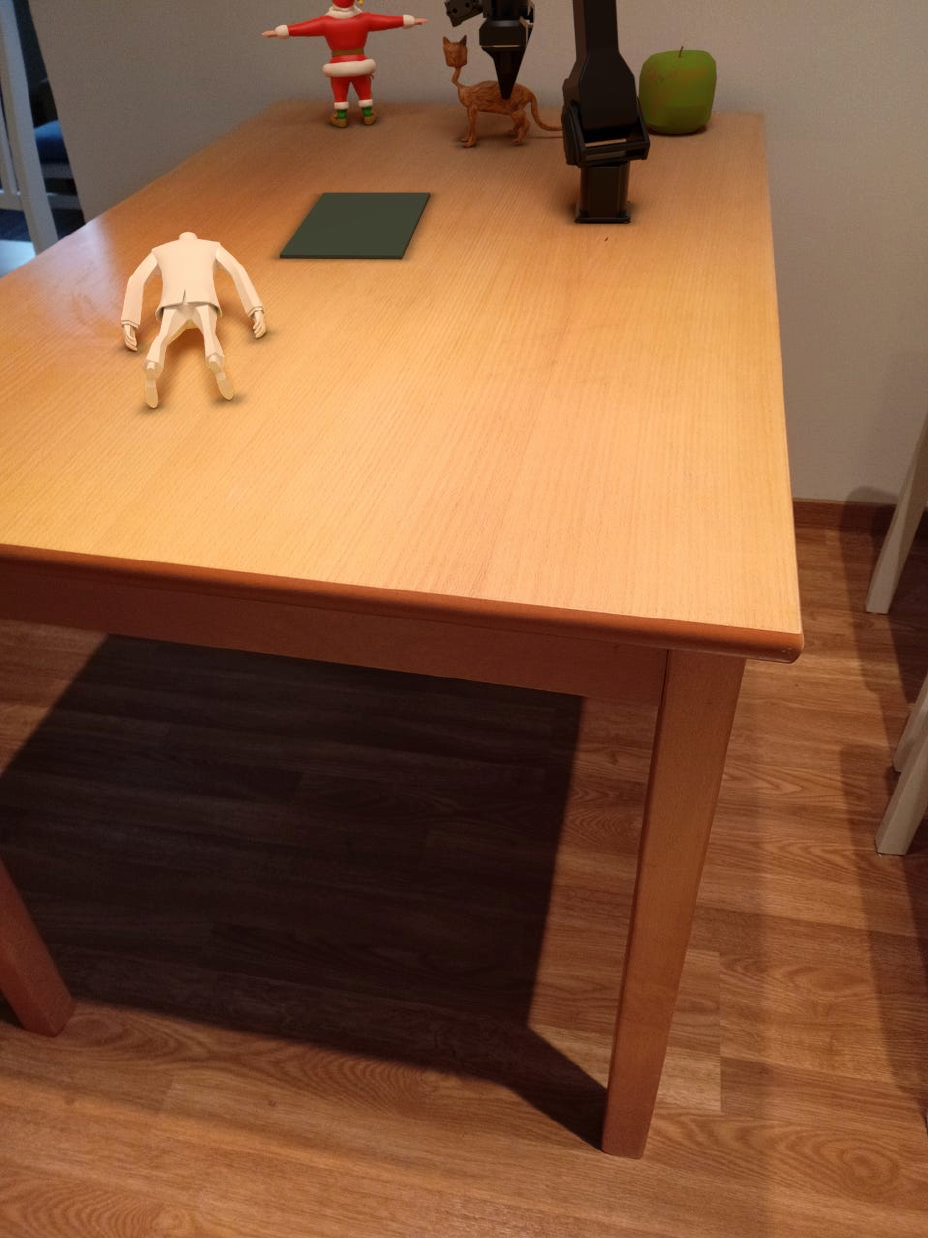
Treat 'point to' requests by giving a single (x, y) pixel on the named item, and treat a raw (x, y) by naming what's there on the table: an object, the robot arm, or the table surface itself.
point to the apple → (677, 90)
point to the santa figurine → (347, 51)
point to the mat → (358, 226)
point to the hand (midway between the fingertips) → (508, 91)
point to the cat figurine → (491, 97)
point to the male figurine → (187, 303)
